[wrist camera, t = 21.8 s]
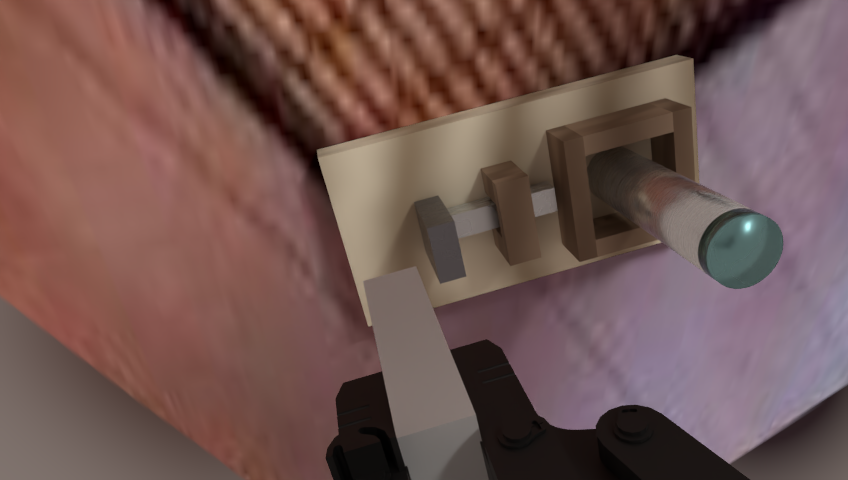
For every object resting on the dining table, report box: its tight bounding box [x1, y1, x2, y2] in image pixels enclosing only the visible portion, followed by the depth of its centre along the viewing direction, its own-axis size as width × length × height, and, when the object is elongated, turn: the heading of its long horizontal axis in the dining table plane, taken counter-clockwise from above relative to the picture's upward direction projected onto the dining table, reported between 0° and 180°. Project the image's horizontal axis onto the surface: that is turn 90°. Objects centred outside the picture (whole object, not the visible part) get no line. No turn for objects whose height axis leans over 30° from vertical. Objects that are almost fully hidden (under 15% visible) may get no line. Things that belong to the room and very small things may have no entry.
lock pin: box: [414, 181, 558, 284], centre depth 40 cm, size 9×4×5 cm, turn 103°
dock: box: [317, 55, 699, 327], centre depth 42 cm, size 24×12×5 cm, turn 103°
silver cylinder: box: [587, 146, 783, 289], centre depth 36 cm, size 4×4×14 cm
